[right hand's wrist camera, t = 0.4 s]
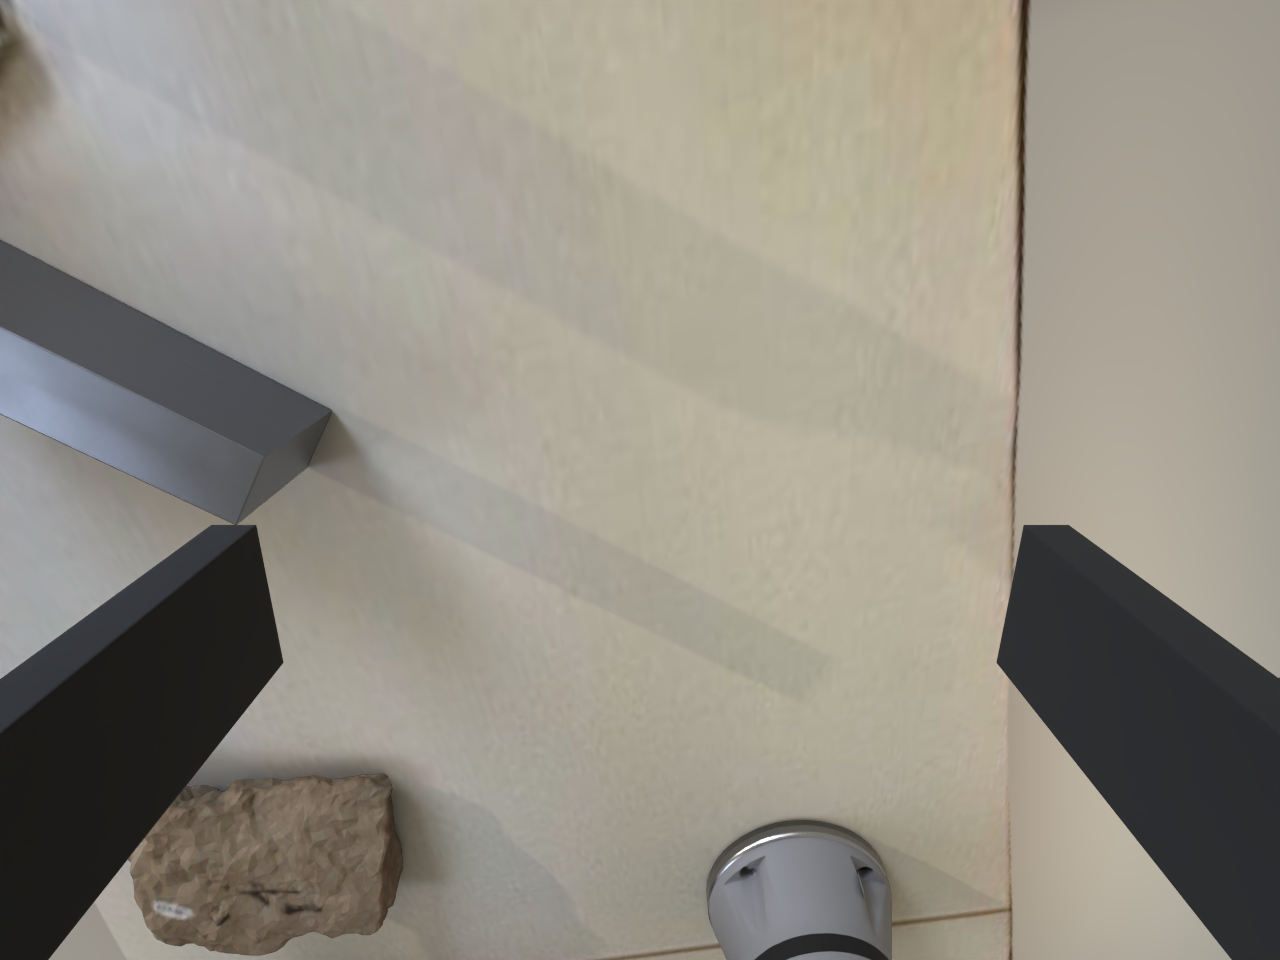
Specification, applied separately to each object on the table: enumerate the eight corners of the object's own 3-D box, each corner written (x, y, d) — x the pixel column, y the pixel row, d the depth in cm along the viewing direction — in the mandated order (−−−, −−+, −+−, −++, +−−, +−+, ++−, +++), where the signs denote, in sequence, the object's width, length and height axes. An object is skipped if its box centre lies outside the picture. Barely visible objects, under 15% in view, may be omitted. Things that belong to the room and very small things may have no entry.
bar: (332, 410, 47) (264, 457, 39) (307, 468, 49) (236, 525, 40) (-68, 204, 43) (-246, 205, 34) (-83, 274, 44) (-257, 293, 36)
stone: (139, 929, 60) (99, 990, 54) (124, 760, 58) (81, 803, 52) (407, 902, 63) (396, 956, 57) (402, 741, 61) (390, 780, 55)
